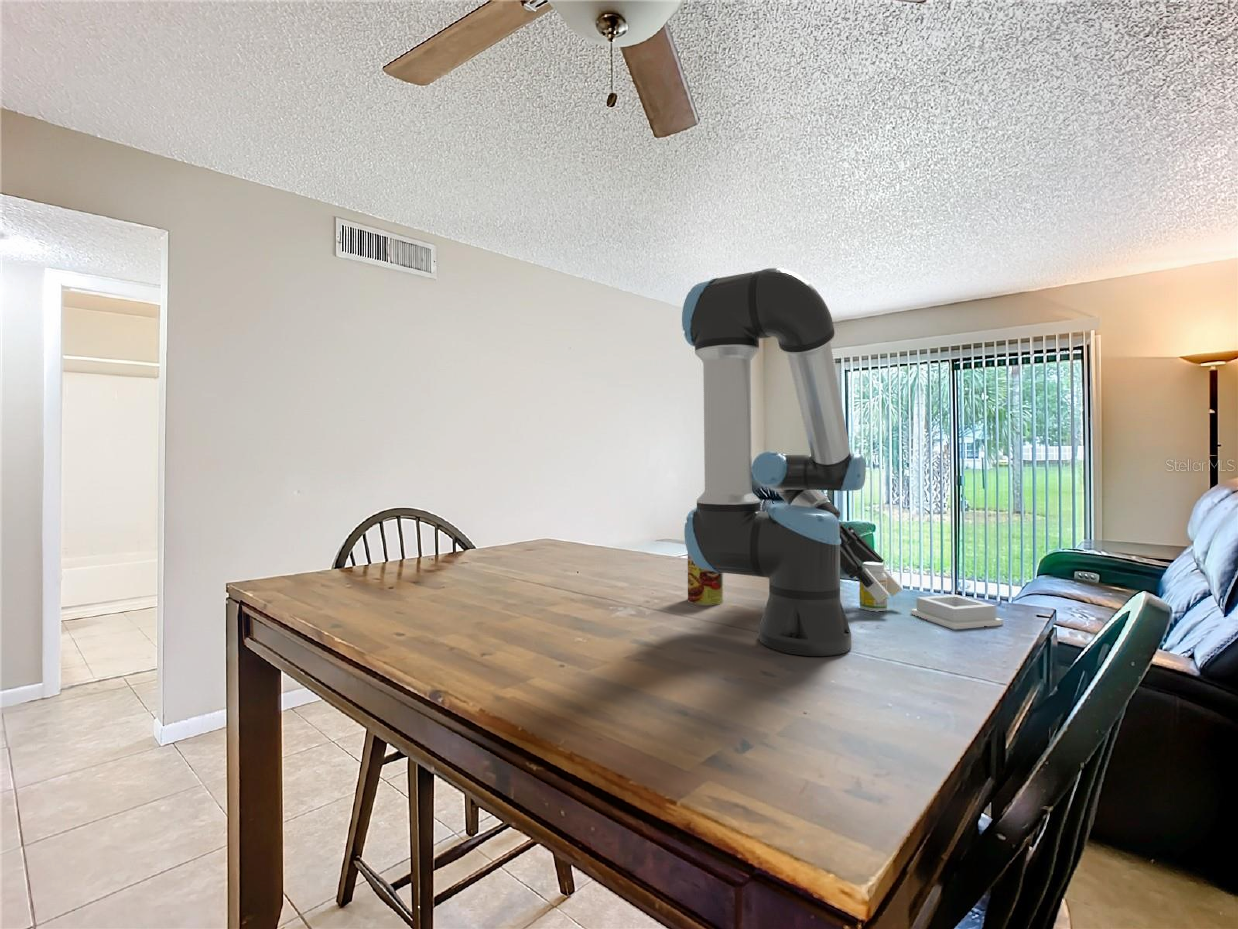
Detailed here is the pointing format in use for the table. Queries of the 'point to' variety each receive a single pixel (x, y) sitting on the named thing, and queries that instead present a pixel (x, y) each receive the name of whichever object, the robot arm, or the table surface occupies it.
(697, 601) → the canned food
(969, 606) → the socket collar
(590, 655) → the table surface
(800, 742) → the table surface
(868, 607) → the supplement bottle
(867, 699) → the table surface
